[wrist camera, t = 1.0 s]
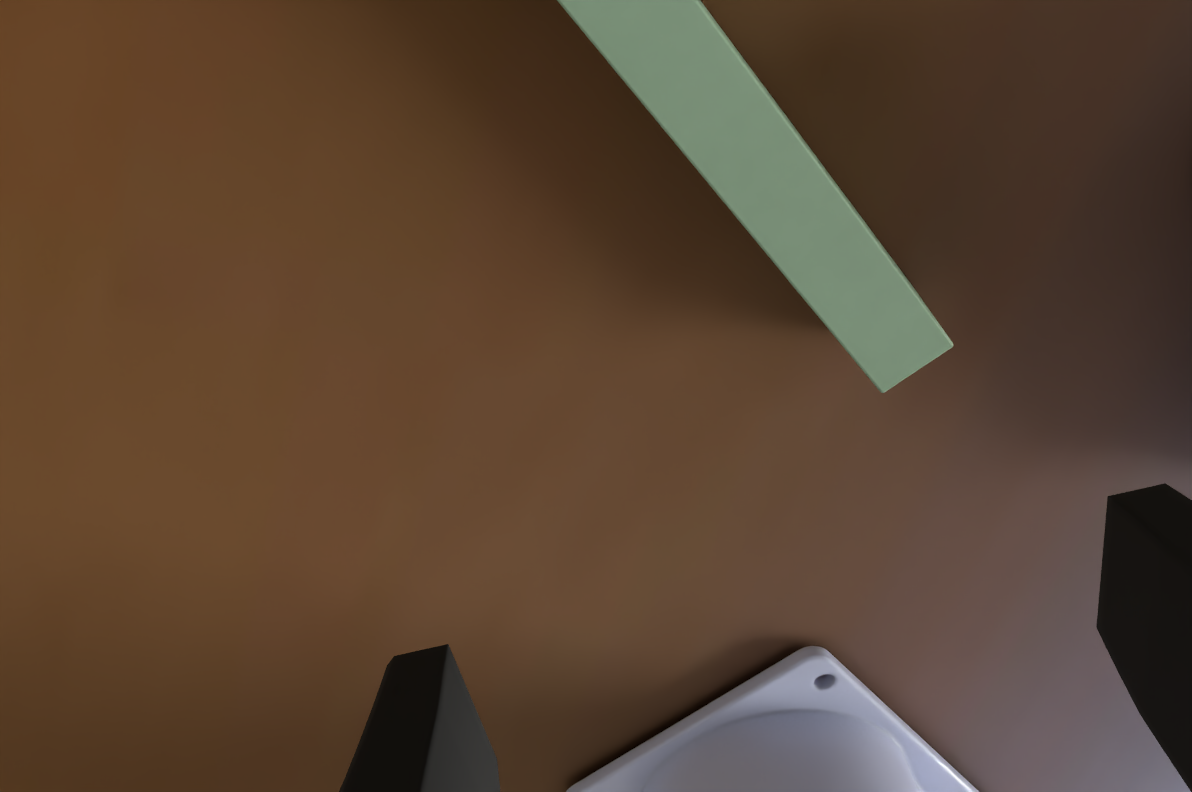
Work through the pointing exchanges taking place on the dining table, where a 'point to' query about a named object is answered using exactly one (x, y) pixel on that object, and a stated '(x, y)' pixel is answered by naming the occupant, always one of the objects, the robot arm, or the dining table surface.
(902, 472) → the dining table surface
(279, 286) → the dining table surface
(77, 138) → the dining table surface
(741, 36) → the dining table surface
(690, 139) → the frame
